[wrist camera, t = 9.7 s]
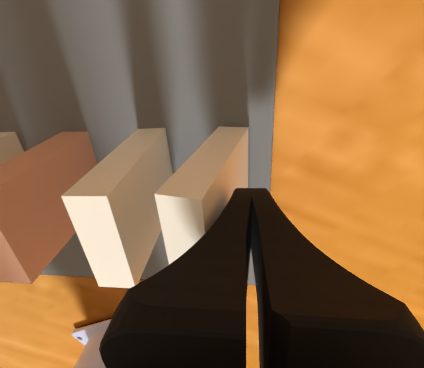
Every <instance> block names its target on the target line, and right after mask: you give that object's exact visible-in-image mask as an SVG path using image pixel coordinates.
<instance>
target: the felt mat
mask: <svg viewBox="0 0 424 368" xmlns="http://www.w3.org/2000/svg"><path fill="white" fill-rule="evenodd" d="M279 2H280V0H0V132H15V133H16V135H17V137H18V139H19V141H20V144H21V146H22V148H23V150H24V152H25V151H27V150H29V149H31V148H33V147H35V146H36V145H38V144H40V143H42V142H44V141H46V140H48V139H50V138H51V137H53V136H55V135H57V134H59V133H61V132H80V131H88V134H89V137H90V141H91V144H92V147H93V151H94V154H95V157H96V161H97V164H98V163H99V162H100V161H102V160H103V159H104V158H105V157H106V156H107V155H108V154H110V153H111V152H112V151H113V150H114V149H115V148H116V147H118V146H119V145H120V144H121V143H122V142H123V141H124V140H126V139H127V138H128V137H129V136H130V135H131V134H132V133H133V132H135V131H136V130H137V129H147V128H166V135H167V141H168V147H169V153H170V160H171V166H172V172H173V174H174V173H175V172H176V171H177V170H178V169H179V168H180V167H181V166H182V165H183V163H184V162H185V161H186V160H187V159H188V158H189V157H190V156H191V155H192V154H193V153H194V152H195V151H196V150H197V149H198V148H199V147H200V146H201V145H202V144H203V142H204V141H205V140H206V139H207V138H208V137H209V136H210V135H211V134H212V133H213V132H214V131H215V130H216V129H217V128H218V127H219V126H225V127H248V188H266V189H267V190H268V191H269V193H270V181H271V161H272V141H273V121H274V101H275V81H276V62H277V42H278V22H279ZM168 265H169V262H168V258H167V253H166V248H165V243H164V238H163V233H162V229H161V232H160V234H159V236H158V239H157V241H156V243H155V246H154V248H153V250H152V252H151V255H150V257H149V259H148V262H147V264H146V266H145V269H144V271H143V273H142V276H141V278H140V279H142V280H146V279H147V278H149V277H151V276H153V275H154V274H156V273H157V272H159V271H161V270H162V269H164V268H165V267H167V266H168ZM40 275H61V276H81V277H95V276H94V274H93V271H92V269H91V267H90V264H89V262H88V259H87V257H86V255H85V252H84V250H83V247H82V245H81V243H80V240H79V238H78V235H77V233H75V234H74V235H73V236H72V237H71V239H70V240H69V241H68V242H67V243H66V244H65V246H64V247H63V248H62V249H61V250H60V252H59V253H58V254H57V255H56V256H55V257H54V259H53V260H52V261H51V262H50V263H49V264H48V266H47V267H46V268H45V269H44V270H43V271H42V273H41V274H40ZM247 285H256V284H255V276H254V268H253V260H252V252H250V263H249V273H248V284H247Z"/></svg>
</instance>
